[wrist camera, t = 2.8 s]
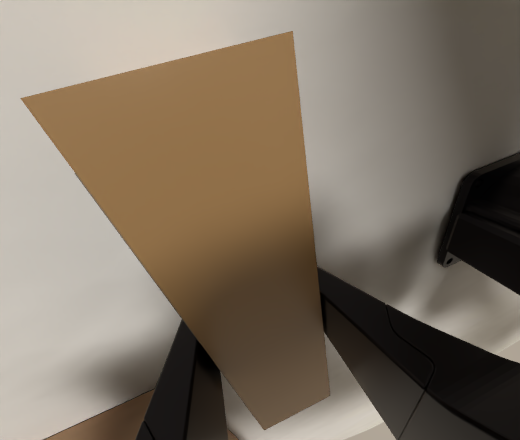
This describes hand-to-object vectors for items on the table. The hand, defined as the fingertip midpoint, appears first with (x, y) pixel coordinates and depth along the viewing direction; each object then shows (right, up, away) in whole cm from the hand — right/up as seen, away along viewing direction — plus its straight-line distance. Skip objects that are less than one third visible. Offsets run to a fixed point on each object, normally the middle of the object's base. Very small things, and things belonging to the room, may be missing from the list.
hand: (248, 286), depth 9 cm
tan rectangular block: (0, +1, +1) cm, 1 cm away
